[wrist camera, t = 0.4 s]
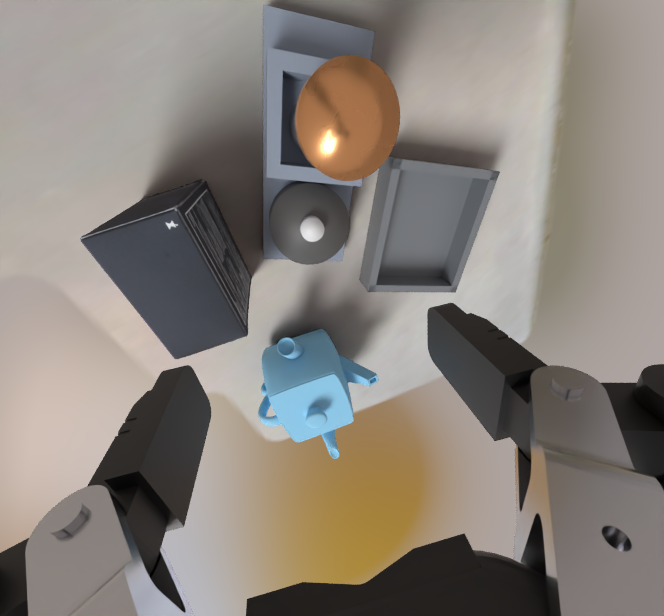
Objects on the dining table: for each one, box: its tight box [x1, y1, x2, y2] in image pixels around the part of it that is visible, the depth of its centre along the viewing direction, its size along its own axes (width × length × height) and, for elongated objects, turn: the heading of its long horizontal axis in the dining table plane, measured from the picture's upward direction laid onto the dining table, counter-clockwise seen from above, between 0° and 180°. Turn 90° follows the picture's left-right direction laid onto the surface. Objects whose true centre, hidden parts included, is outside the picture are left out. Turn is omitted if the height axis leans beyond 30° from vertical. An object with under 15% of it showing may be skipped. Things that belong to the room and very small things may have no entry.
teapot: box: [258, 329, 379, 459], centre depth 35 cm, size 18×14×10 cm
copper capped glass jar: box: [289, 55, 400, 181], centre depth 19 cm, size 5×5×11 cm
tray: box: [359, 157, 500, 292], centre depth 31 cm, size 13×11×3 cm
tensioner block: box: [263, 5, 375, 264], centre depth 24 cm, size 18×8×5 cm, turn 173°
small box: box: [80, 179, 252, 359], centre depth 24 cm, size 11×6×10 cm, turn 15°
